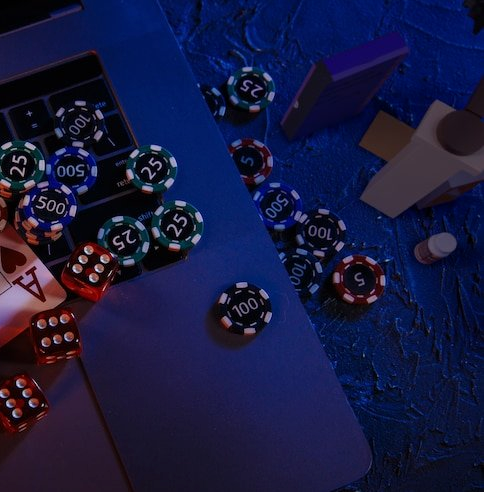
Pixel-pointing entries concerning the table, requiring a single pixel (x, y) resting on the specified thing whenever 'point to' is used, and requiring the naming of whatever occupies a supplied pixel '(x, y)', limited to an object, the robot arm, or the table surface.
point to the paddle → (464, 126)
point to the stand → (418, 167)
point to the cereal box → (343, 85)
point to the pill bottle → (435, 248)
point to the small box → (450, 189)
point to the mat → (386, 136)
